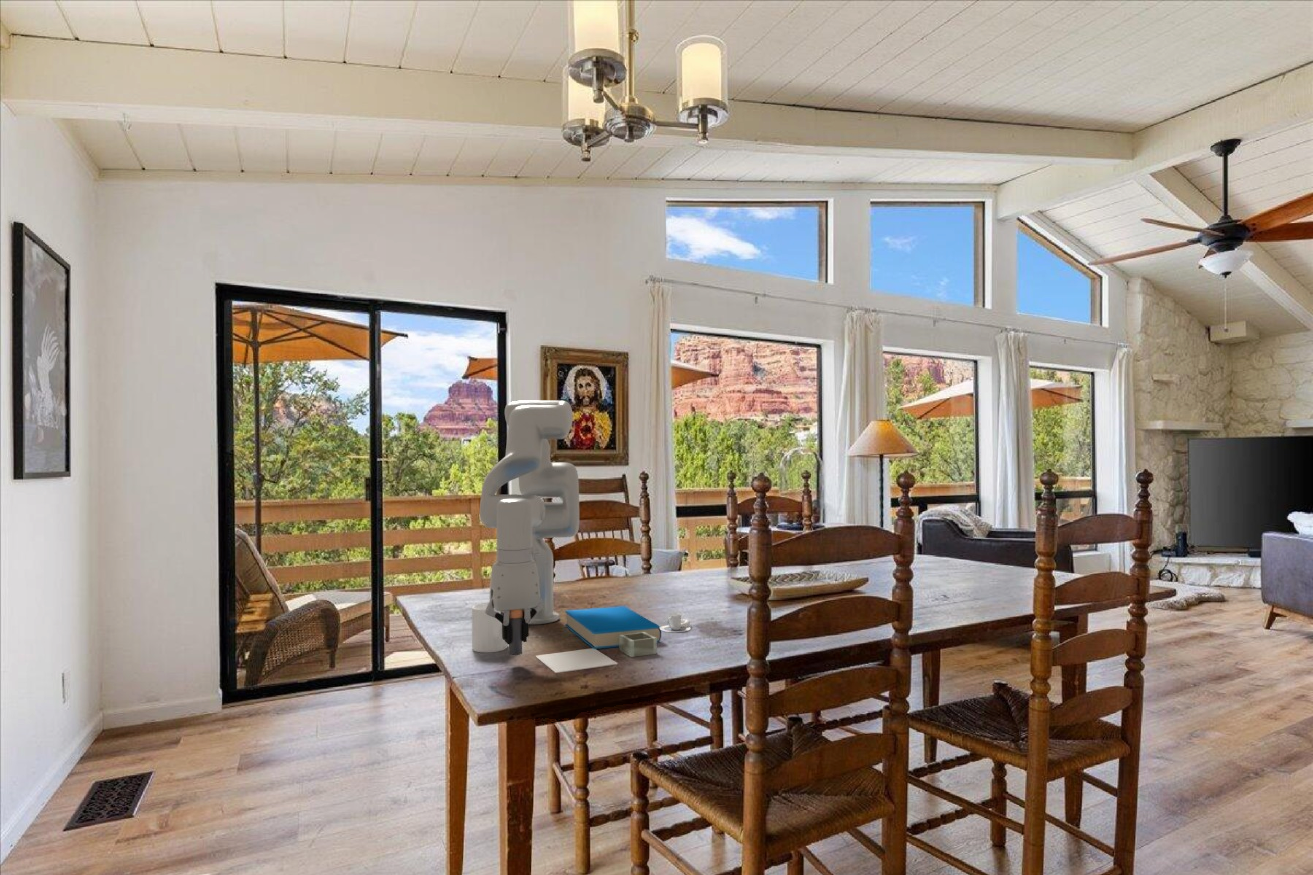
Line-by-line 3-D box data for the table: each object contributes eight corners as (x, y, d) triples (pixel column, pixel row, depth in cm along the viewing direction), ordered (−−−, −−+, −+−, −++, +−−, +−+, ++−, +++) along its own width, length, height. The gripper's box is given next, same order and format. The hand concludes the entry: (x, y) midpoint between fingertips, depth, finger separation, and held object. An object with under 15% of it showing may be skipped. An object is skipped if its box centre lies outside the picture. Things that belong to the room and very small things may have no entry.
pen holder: (619, 650, 178) (619, 634, 178) (644, 646, 180) (644, 631, 180) (630, 657, 172) (630, 641, 172) (656, 653, 175) (656, 637, 175)
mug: (485, 658, 171) (485, 614, 171) (467, 646, 181) (467, 604, 182) (519, 653, 176) (519, 609, 176) (500, 641, 186) (499, 600, 186)
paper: (535, 656, 173) (535, 655, 173) (593, 648, 179) (593, 648, 179) (555, 673, 160) (555, 672, 160) (617, 664, 166) (617, 663, 166)
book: (594, 632, 178) (564, 609, 201) (594, 650, 178) (564, 625, 201) (662, 625, 185) (626, 604, 208) (662, 643, 185) (625, 620, 208)
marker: (506, 652, 167) (506, 606, 167) (520, 650, 168) (520, 604, 168) (510, 656, 164) (510, 609, 164) (524, 654, 166) (524, 607, 165)
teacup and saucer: (684, 625, 204) (684, 609, 204) (699, 631, 196) (698, 615, 196) (654, 628, 200) (654, 612, 200) (668, 635, 193) (667, 619, 193)
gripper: (545, 550, 173) (546, 632, 173) (472, 556, 166) (473, 642, 166) (556, 555, 166) (557, 641, 166) (481, 562, 159) (482, 651, 159)
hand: (515, 640), depth 166 cm, fingers closed on marker, 2 cm apart
